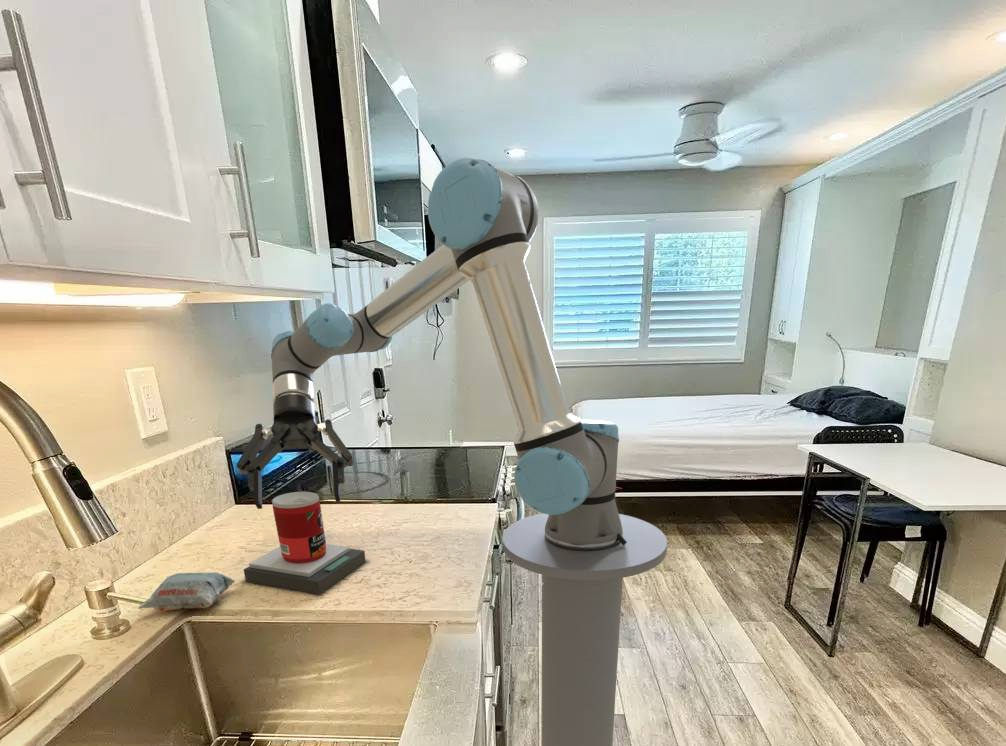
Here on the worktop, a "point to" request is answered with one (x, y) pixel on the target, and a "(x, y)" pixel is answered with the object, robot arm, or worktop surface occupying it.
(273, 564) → the kitchen scale
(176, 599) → the packaged food
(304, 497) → the canned food
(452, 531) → the worktop surface
